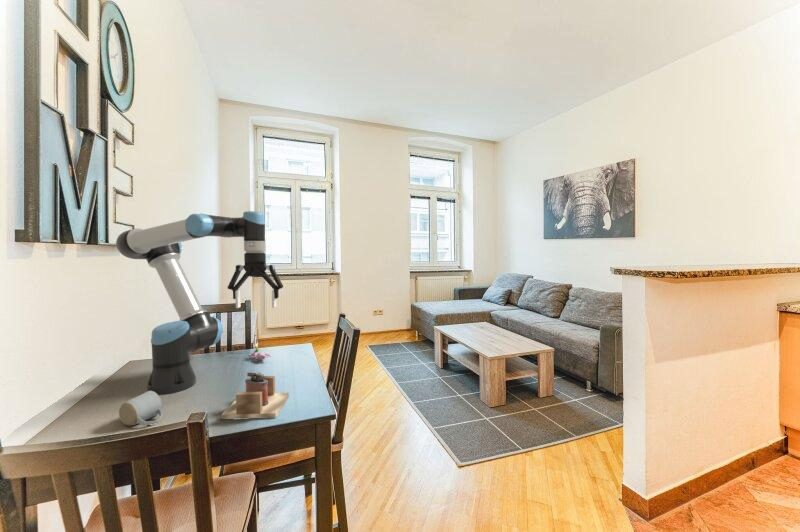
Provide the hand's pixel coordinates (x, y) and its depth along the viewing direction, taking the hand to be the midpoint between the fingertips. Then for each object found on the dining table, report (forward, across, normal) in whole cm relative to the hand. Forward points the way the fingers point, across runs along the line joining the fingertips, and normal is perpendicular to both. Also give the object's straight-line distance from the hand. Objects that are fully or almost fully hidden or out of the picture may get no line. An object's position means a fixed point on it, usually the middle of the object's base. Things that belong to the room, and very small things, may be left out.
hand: (256, 307), depth 133 cm
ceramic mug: (+29, -22, -30) cm, 48 cm away
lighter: (+27, +8, -24) cm, 37 cm away
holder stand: (+29, +8, -24) cm, 38 cm away
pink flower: (+29, -8, +25) cm, 39 cm away
